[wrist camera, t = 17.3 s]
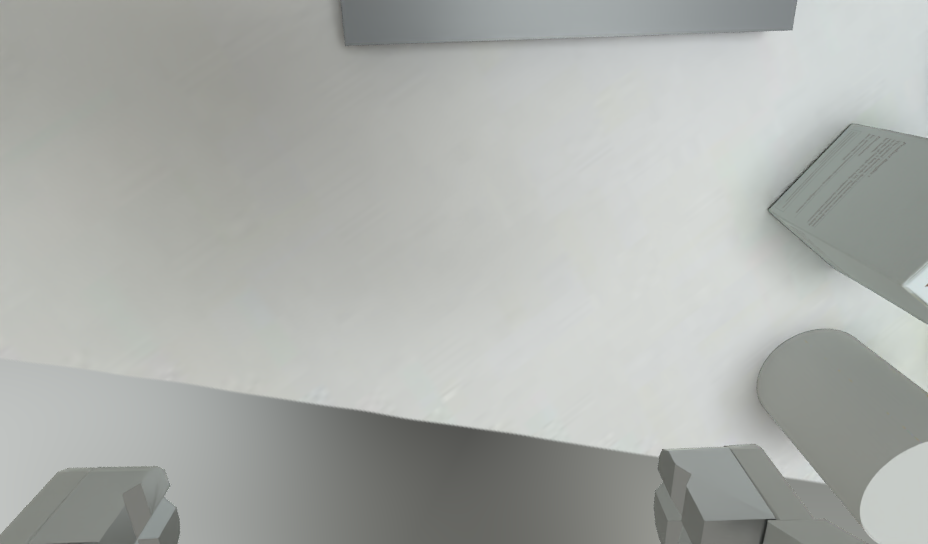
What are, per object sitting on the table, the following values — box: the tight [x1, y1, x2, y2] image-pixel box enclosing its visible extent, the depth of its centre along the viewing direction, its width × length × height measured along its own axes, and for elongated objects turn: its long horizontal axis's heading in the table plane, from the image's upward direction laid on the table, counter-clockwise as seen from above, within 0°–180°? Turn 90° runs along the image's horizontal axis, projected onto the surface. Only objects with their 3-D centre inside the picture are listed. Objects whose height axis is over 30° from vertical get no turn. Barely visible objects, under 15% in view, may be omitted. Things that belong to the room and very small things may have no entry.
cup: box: [757, 329, 928, 544], centre depth 38 cm, size 8×8×12 cm
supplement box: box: [769, 124, 928, 324], centre depth 32 cm, size 7×7×13 cm
